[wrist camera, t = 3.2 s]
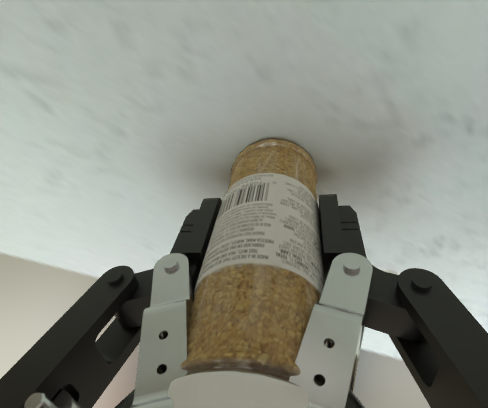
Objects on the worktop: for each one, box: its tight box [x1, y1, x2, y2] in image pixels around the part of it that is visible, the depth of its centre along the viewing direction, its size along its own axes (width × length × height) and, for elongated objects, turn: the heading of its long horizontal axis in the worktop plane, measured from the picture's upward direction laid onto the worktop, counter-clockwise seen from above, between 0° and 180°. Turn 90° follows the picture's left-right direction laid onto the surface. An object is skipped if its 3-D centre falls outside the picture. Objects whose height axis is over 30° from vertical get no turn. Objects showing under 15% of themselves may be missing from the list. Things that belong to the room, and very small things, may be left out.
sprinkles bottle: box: [168, 139, 325, 408], centre depth 12 cm, size 5×5×13 cm
